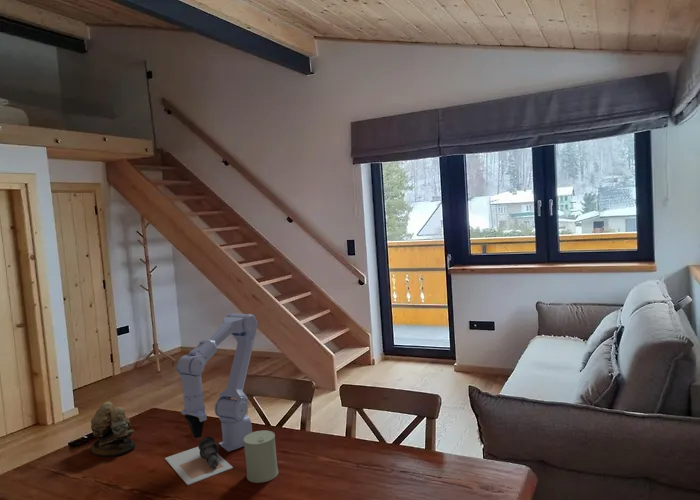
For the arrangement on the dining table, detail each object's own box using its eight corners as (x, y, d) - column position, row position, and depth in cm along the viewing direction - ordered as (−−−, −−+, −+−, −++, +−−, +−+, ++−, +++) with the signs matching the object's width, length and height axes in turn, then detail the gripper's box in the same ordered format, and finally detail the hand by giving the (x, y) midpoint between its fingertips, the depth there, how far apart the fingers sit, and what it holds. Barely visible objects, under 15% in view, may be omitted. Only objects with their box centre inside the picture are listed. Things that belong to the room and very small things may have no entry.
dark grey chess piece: (194, 451, 165) (202, 475, 154) (201, 435, 164) (209, 457, 154) (212, 453, 168) (221, 476, 157) (218, 436, 167) (227, 459, 157)
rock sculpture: (147, 444, 179) (141, 396, 178) (119, 460, 168) (113, 410, 167) (109, 438, 186) (103, 392, 185) (80, 453, 176) (74, 405, 174)
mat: (206, 444, 175) (206, 443, 175) (233, 468, 157) (232, 467, 157) (164, 458, 167) (164, 457, 167) (187, 485, 149) (187, 484, 149)
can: (252, 486, 146) (248, 445, 145) (243, 472, 154) (239, 434, 153) (282, 476, 150) (279, 436, 149) (272, 463, 158) (269, 425, 157)
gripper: (172, 391, 162) (177, 433, 163) (188, 404, 150) (192, 449, 151) (194, 386, 166) (199, 426, 167) (211, 397, 154) (216, 441, 155)
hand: (197, 437), depth 159 cm, fingers closed
